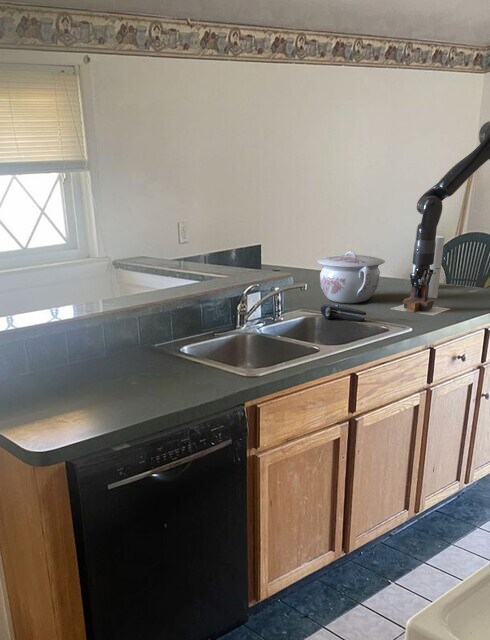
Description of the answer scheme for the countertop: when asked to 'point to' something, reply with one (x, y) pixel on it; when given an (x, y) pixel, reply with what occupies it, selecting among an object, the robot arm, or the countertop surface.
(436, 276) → the cylindrical container
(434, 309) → the tile
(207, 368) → the countertop surface
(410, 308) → the cork block
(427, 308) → the brown branching block
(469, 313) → the countertop surface
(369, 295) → the chamber pot
